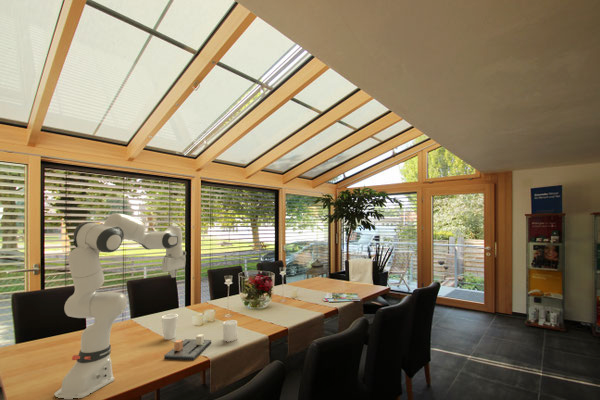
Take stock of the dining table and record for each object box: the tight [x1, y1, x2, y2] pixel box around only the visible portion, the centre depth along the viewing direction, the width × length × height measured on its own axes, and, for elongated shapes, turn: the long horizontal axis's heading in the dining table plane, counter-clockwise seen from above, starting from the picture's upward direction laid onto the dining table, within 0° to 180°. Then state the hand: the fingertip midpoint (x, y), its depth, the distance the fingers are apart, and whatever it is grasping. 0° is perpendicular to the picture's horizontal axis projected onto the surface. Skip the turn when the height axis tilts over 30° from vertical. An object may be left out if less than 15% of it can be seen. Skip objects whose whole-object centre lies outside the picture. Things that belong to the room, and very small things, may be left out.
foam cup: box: [161, 313, 179, 341], centre depth 190 cm, size 10×9×13 cm
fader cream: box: [195, 333, 205, 345], centre depth 173 cm, size 4×3×5 cm
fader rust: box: [173, 339, 184, 351], centre depth 165 cm, size 4×3×5 cm
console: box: [163, 338, 212, 361], centre depth 169 cm, size 22×16×2 cm
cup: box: [222, 319, 238, 343], centre depth 187 cm, size 8×12×10 cm
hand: (173, 277), depth 179 cm, fingers closed
